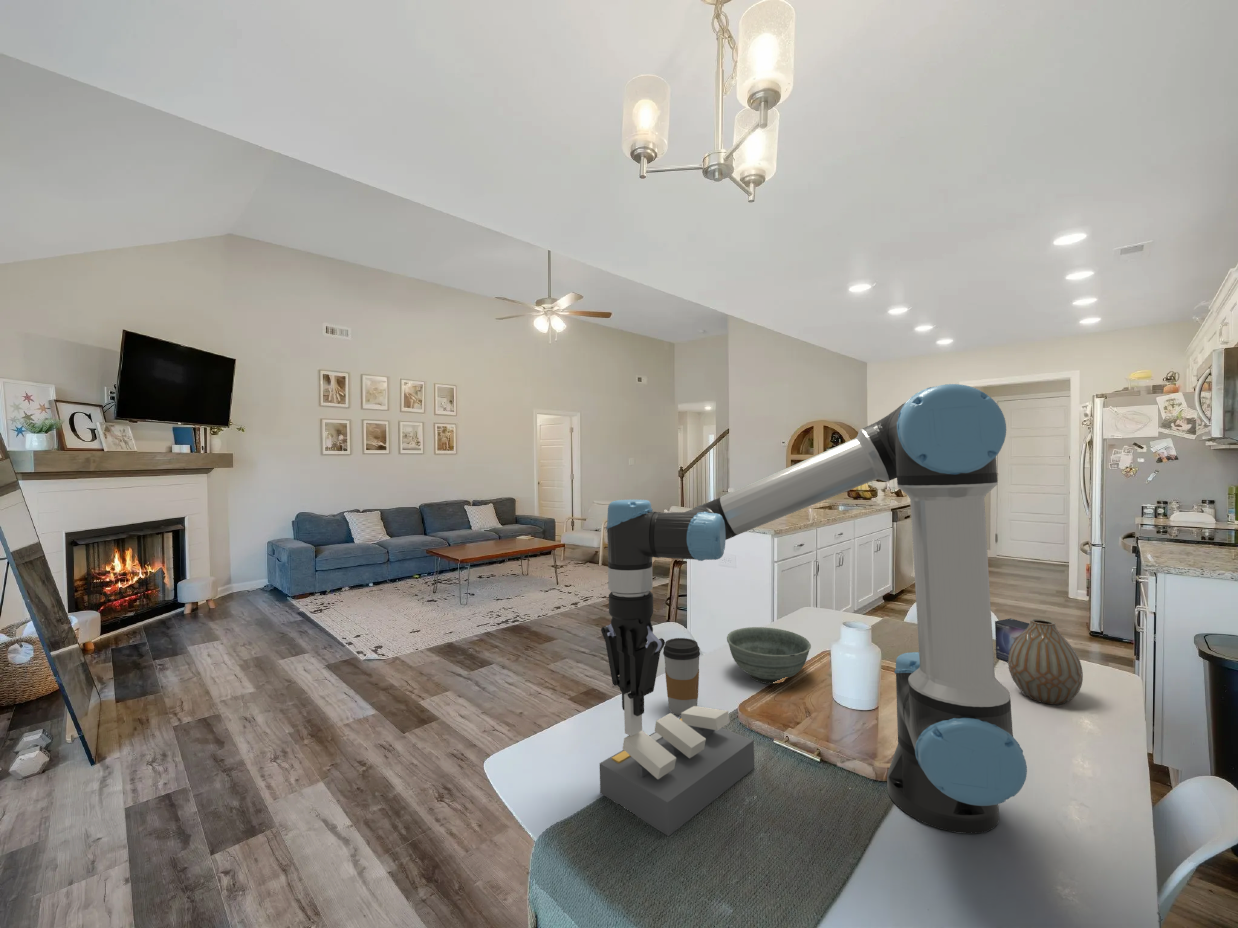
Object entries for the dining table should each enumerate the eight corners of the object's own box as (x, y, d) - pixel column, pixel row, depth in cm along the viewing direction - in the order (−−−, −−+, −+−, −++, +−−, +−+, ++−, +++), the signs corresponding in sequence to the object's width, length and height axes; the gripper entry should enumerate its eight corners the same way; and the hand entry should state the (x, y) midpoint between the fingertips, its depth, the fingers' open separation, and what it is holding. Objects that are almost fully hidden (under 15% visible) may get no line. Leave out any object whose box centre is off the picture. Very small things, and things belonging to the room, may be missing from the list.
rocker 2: (703, 748, 89) (705, 738, 89) (689, 758, 86) (691, 747, 86) (669, 722, 95) (670, 712, 94) (654, 730, 92) (656, 720, 92)
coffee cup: (700, 720, 112) (699, 650, 112) (662, 717, 113) (660, 648, 113) (702, 702, 120) (700, 637, 120) (666, 700, 121) (664, 636, 122)
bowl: (737, 658, 147) (736, 622, 147) (815, 668, 138) (814, 631, 138) (718, 686, 129) (717, 646, 129) (807, 701, 119) (806, 657, 119)
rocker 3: (730, 722, 95) (727, 710, 95) (717, 730, 92) (715, 718, 92) (695, 716, 100) (693, 705, 101) (682, 724, 98) (680, 712, 98)
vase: (1097, 704, 114) (1094, 625, 114) (1060, 716, 109) (1058, 633, 110) (1031, 682, 126) (1029, 610, 127) (996, 692, 122) (993, 617, 122)
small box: (994, 658, 142) (992, 620, 142) (1011, 655, 144) (1010, 617, 144) (1035, 672, 132) (1033, 631, 132) (1053, 669, 134) (1051, 628, 134)
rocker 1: (674, 768, 84) (676, 757, 83) (657, 779, 81) (659, 768, 80) (639, 739, 89) (640, 729, 89) (622, 748, 86) (624, 737, 86)
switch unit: (754, 767, 93) (753, 731, 94) (668, 836, 77) (667, 792, 77) (688, 738, 104) (687, 706, 104) (600, 792, 87) (599, 754, 87)
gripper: (674, 593, 85) (677, 737, 85) (619, 582, 95) (622, 711, 94) (643, 602, 80) (647, 755, 80) (588, 589, 89) (591, 726, 89)
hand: (633, 731), depth 87 cm, fingers closed
